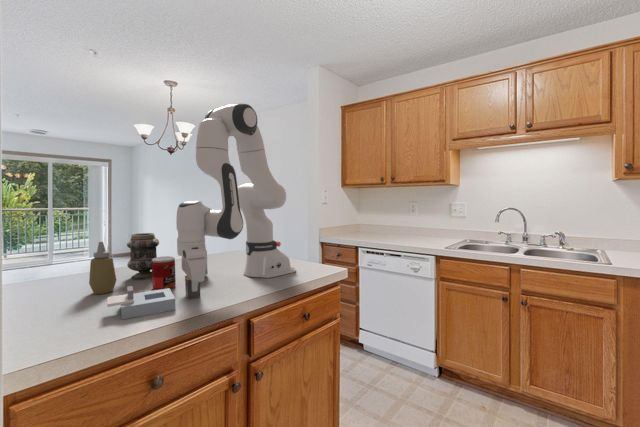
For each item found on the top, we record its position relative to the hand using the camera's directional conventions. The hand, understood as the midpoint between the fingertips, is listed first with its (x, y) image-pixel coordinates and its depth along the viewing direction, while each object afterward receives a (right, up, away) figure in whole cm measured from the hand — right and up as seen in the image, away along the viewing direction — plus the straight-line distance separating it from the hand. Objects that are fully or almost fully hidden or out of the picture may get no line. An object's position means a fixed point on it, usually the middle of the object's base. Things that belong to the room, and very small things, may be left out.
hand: (192, 288), depth 111 cm
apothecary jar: (-30, -1, +25) cm, 39 cm away
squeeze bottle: (-34, -2, +5) cm, 34 cm away
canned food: (-14, -2, +10) cm, 18 cm away
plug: (0, -3, 0) cm, 3 cm away
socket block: (-10, -4, -11) cm, 15 cm away
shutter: (-16, 0, -15) cm, 21 cm away
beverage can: (-7, -1, +24) cm, 25 cm away
